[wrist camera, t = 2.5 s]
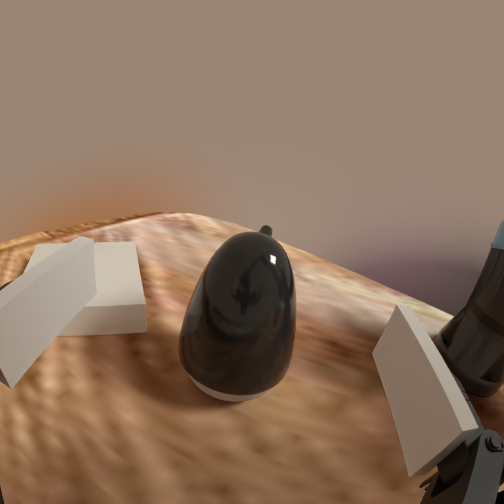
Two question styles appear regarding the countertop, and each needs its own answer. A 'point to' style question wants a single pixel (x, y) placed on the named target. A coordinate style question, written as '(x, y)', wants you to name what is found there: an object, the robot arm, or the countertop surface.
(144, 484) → the countertop surface
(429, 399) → the robot arm
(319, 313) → the countertop surface
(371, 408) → the countertop surface
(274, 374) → the dark brown rounded piece
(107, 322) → the riser
